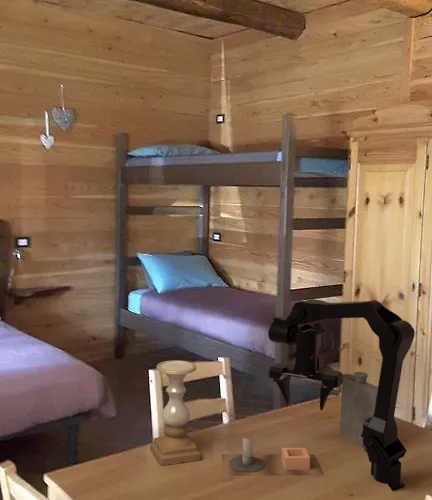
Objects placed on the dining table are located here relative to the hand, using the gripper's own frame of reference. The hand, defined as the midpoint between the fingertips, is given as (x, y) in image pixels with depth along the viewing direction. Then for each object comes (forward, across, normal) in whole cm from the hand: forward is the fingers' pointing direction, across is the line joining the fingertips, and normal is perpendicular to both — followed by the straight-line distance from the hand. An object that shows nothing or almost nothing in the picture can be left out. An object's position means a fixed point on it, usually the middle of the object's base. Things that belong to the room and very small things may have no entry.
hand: (304, 407), depth 173 cm
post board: (+13, +4, +13) cm, 19 cm away
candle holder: (+13, +29, +17) cm, 36 cm away
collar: (+12, -1, +10) cm, 15 cm away
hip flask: (+13, -10, -15) cm, 23 cm away
